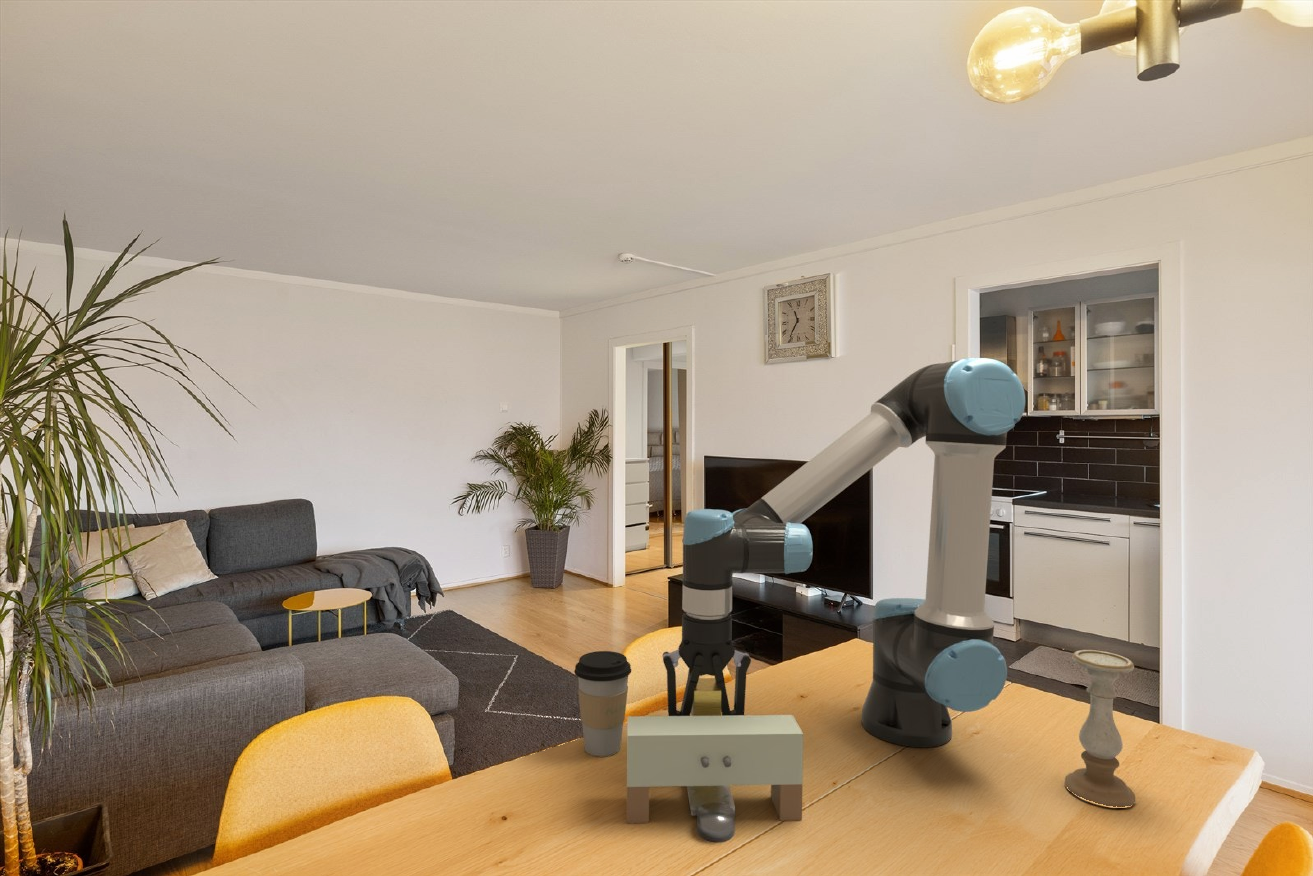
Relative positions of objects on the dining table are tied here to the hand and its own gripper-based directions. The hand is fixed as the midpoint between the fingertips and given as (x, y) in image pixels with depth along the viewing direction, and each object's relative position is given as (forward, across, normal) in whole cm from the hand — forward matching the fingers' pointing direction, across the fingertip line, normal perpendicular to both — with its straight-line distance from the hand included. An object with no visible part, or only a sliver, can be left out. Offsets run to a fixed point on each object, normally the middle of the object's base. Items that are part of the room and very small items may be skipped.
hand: (705, 764), depth 104 cm
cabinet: (+2, 0, +8) cm, 8 cm away
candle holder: (+2, -58, +5) cm, 58 cm away
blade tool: (+2, 0, +4) cm, 4 cm away
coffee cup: (+3, +16, -10) cm, 19 cm away
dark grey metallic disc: (+2, 0, +13) cm, 13 cm away
